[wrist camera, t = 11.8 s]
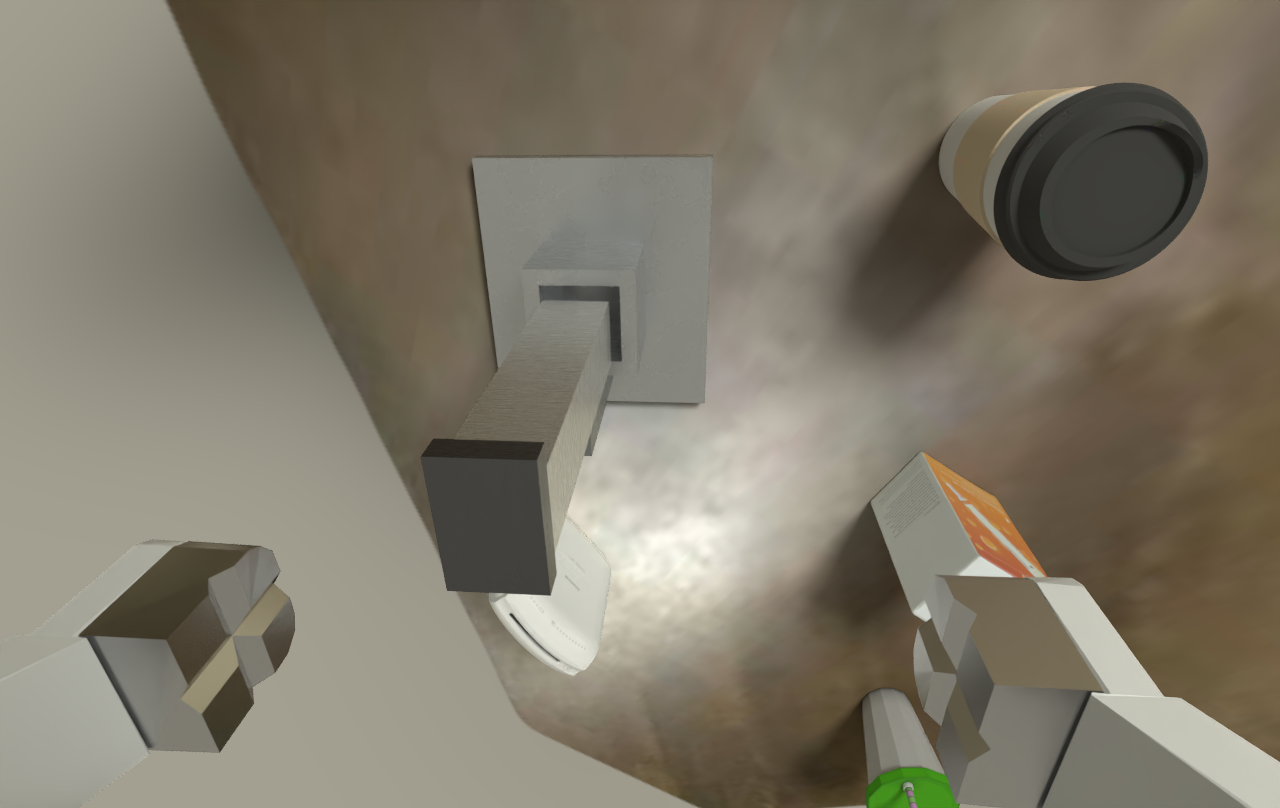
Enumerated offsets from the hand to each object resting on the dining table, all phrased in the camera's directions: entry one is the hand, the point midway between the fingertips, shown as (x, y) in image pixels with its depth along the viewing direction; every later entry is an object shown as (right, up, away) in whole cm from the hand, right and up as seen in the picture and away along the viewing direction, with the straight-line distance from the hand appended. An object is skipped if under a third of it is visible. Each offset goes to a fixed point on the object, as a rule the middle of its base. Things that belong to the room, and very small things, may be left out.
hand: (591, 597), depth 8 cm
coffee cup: (+23, +19, +35) cm, 46 cm away
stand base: (-2, +11, +41) cm, 42 cm away
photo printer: (-6, -10, +53) cm, 54 cm away
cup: (+25, -28, +59) cm, 70 cm away
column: (-3, +7, +33) cm, 33 cm away
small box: (+25, -5, +47) cm, 54 cm away
